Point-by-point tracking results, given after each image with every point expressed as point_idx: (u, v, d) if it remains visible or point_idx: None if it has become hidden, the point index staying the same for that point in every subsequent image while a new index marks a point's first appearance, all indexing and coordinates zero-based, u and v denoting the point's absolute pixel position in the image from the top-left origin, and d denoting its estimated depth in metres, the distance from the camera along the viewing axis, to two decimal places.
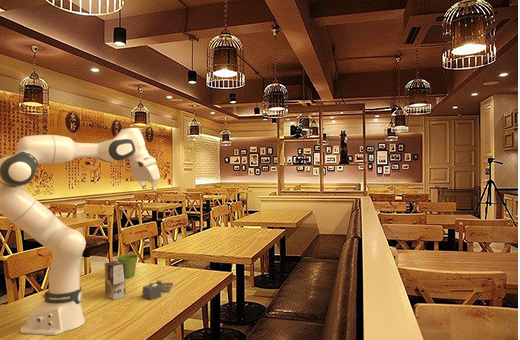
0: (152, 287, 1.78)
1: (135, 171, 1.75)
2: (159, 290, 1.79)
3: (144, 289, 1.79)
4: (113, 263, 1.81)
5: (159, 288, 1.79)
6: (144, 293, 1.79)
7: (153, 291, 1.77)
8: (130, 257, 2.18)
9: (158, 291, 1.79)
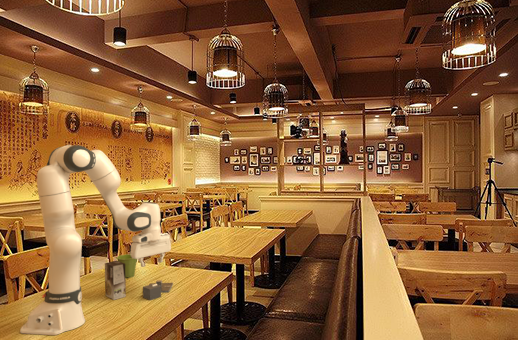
0: (152, 287, 1.78)
1: None
2: (159, 290, 1.79)
3: (144, 289, 1.79)
4: (113, 263, 1.81)
5: (159, 288, 1.79)
6: (144, 293, 1.79)
7: (153, 291, 1.77)
8: (130, 257, 2.18)
9: (158, 291, 1.79)
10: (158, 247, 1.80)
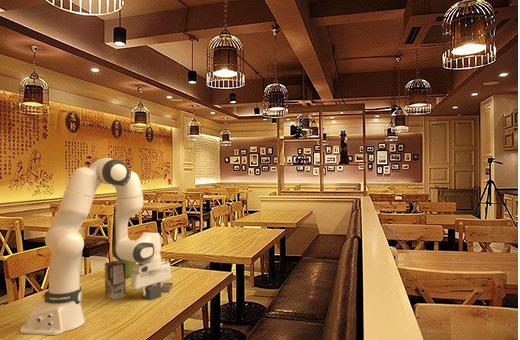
0: (152, 287, 1.78)
1: None
2: (159, 290, 1.79)
3: None
4: (113, 263, 1.81)
5: (159, 288, 1.79)
6: None
7: (153, 291, 1.77)
8: None
9: (158, 291, 1.79)
10: (158, 276, 1.80)
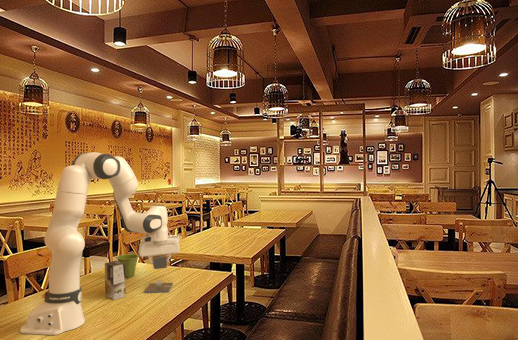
0: (158, 257, 1.90)
1: None
2: (164, 261, 1.90)
3: (153, 258, 1.92)
4: (113, 263, 1.81)
5: (164, 259, 1.90)
6: None
7: (158, 261, 1.88)
8: (130, 257, 2.18)
9: (163, 262, 1.89)
10: (165, 248, 1.91)
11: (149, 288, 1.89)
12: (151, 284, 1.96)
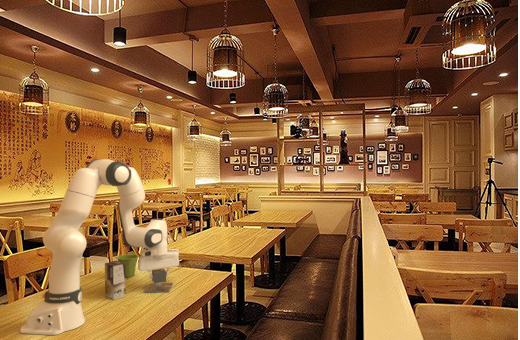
0: (158, 271, 1.90)
1: None
2: (164, 275, 1.90)
3: (152, 272, 1.92)
4: (113, 263, 1.81)
5: (164, 273, 1.90)
6: None
7: (157, 275, 1.89)
8: (130, 257, 2.18)
9: (163, 276, 1.90)
10: (164, 262, 1.91)
11: (149, 288, 1.89)
12: (151, 284, 1.96)
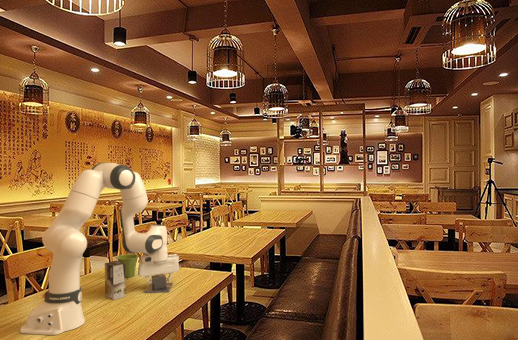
0: (158, 277, 1.90)
1: None
2: (164, 280, 1.90)
3: (152, 278, 1.92)
4: (113, 263, 1.81)
5: (164, 279, 1.90)
6: (152, 282, 1.92)
7: (157, 281, 1.89)
8: (130, 257, 2.18)
9: (163, 281, 1.90)
10: (164, 267, 1.91)
11: (149, 288, 1.89)
12: (151, 284, 1.96)
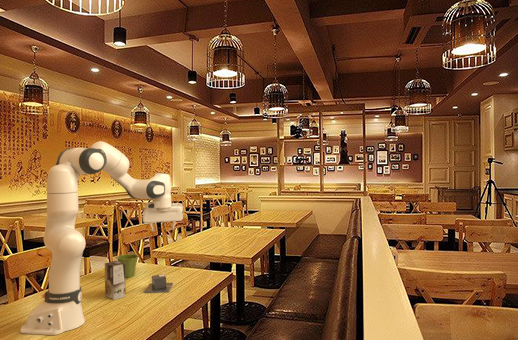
0: (158, 277, 1.90)
1: None
2: (164, 280, 1.90)
3: (152, 278, 1.92)
4: (113, 263, 1.81)
5: (164, 279, 1.90)
6: (152, 282, 1.92)
7: (157, 281, 1.89)
8: (130, 257, 2.18)
9: (163, 281, 1.90)
10: (168, 215, 1.94)
11: (149, 288, 1.89)
12: (151, 284, 1.96)
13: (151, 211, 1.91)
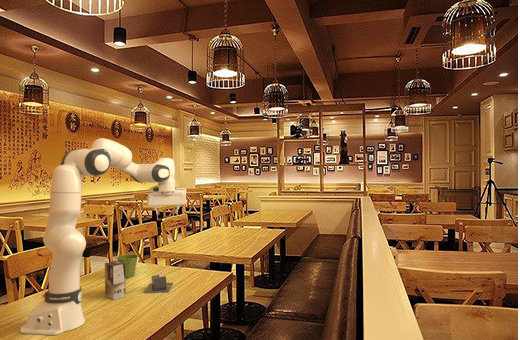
0: (158, 277, 1.90)
1: None
2: (164, 280, 1.90)
3: (152, 278, 1.92)
4: (113, 263, 1.81)
5: (164, 279, 1.90)
6: (152, 282, 1.92)
7: (157, 281, 1.89)
8: (130, 257, 2.18)
9: (163, 281, 1.90)
10: (172, 199, 1.98)
11: (149, 288, 1.89)
12: (151, 284, 1.96)
13: (155, 195, 1.95)
